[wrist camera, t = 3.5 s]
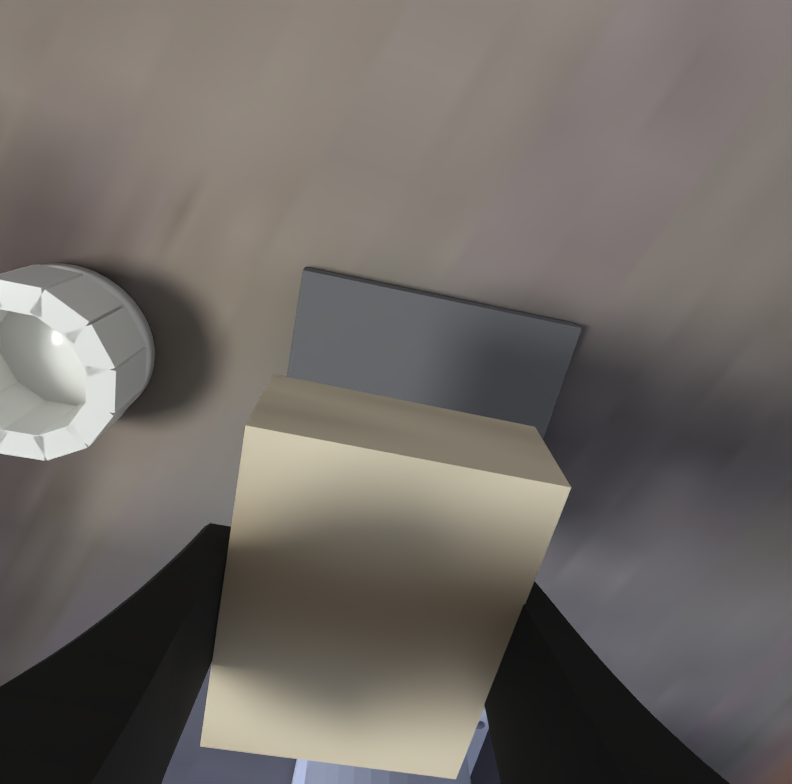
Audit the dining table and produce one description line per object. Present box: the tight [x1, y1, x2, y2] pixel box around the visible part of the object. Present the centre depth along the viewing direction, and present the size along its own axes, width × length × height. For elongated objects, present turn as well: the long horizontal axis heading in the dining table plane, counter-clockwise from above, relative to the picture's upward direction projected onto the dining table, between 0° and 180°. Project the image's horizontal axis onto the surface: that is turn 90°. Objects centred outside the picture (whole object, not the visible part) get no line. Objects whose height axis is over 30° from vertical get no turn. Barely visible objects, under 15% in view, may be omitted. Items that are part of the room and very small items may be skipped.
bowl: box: [0, 263, 155, 460], centre depth 17 cm, size 5×5×3 cm
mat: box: [287, 267, 582, 439], centre depth 20 cm, size 12×9×1 cm
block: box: [200, 374, 571, 779], centre depth 12 cm, size 8×6×2 cm
